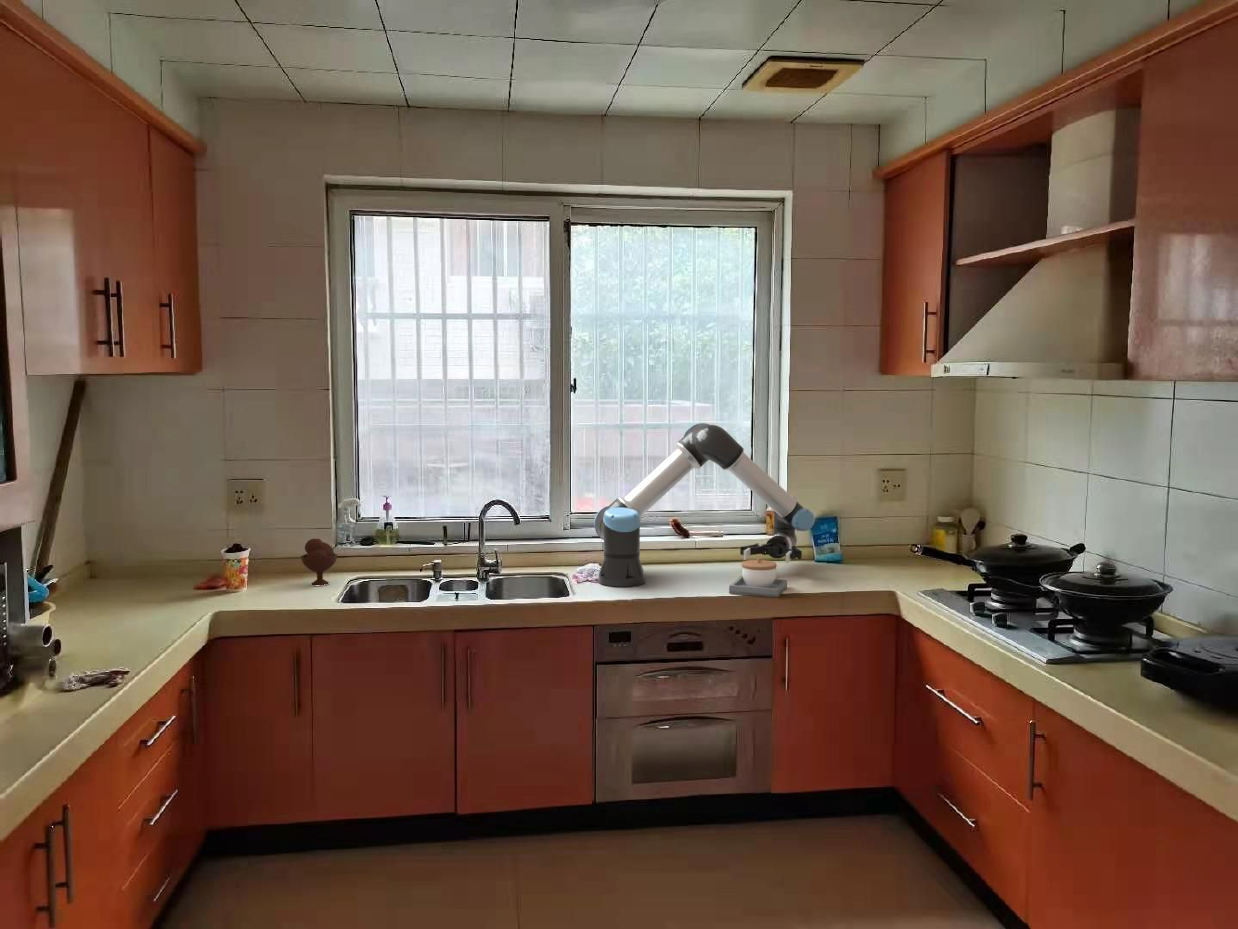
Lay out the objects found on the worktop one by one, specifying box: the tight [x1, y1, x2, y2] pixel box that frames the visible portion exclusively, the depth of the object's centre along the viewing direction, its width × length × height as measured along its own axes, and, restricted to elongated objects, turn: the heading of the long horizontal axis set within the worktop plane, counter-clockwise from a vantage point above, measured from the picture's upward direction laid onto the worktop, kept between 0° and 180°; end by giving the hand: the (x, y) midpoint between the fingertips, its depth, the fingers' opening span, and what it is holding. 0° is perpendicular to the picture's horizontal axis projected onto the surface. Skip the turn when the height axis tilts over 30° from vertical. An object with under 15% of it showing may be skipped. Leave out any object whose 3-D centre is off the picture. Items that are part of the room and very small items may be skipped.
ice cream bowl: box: [300, 538, 338, 586], centre depth 285 cm, size 11×11×15 cm
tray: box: [728, 575, 788, 599], centre depth 277 cm, size 15×15×2 cm
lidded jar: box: [741, 557, 777, 588], centre depth 276 cm, size 11×11×9 cm
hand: (765, 557), depth 285 cm, fingers open, 13 cm apart
